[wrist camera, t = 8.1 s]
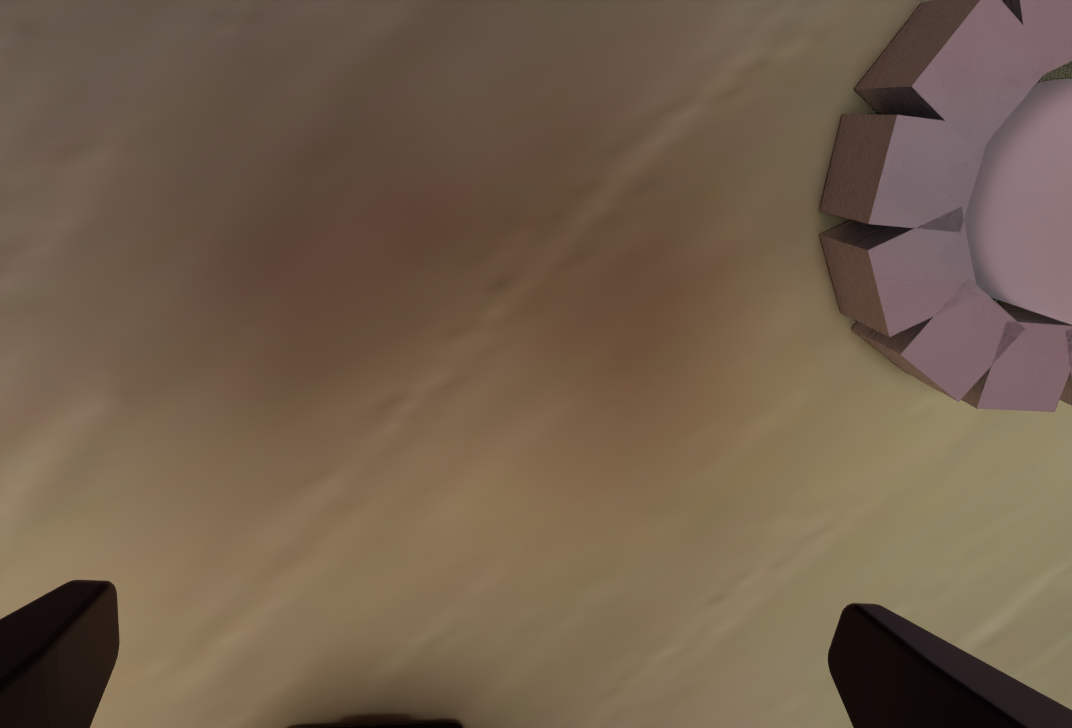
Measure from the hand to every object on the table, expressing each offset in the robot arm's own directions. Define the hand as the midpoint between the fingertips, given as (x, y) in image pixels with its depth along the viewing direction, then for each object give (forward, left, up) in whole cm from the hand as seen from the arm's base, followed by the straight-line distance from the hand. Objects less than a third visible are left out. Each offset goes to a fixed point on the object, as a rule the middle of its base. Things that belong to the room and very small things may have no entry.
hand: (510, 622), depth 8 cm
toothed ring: (+6, -17, -13) cm, 22 cm away
